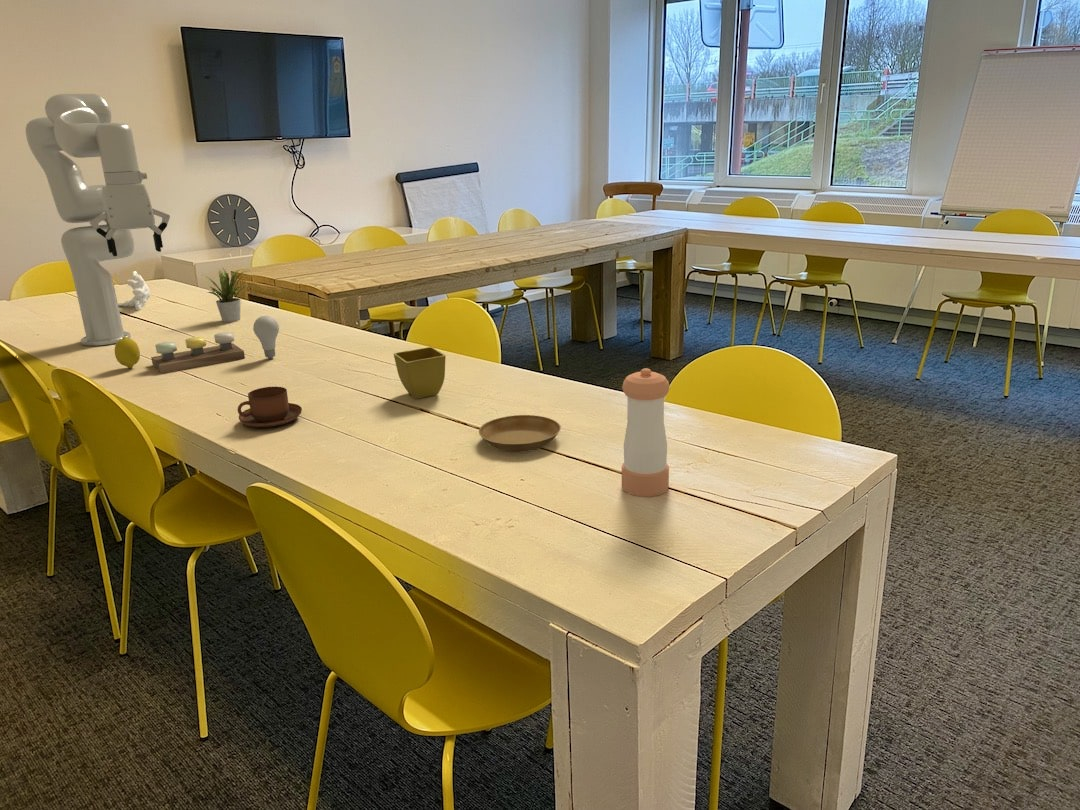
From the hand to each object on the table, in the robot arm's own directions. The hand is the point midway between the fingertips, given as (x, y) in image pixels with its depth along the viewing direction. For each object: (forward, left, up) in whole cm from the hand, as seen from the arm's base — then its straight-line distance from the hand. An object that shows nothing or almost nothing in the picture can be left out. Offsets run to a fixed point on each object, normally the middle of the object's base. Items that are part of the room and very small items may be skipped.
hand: (137, 253), depth 197 cm
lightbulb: (+14, +24, -28) cm, 39 cm away
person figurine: (-83, +11, -28) cm, 89 cm away
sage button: (+4, +2, -26) cm, 27 cm away
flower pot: (+66, +40, -28) cm, 82 cm away
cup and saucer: (+61, +9, -28) cm, 68 cm away
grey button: (+4, +16, -26) cm, 31 cm away
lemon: (-2, -6, -28) cm, 29 cm away
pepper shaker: (+131, +45, -28) cm, 141 cm away
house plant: (-38, +30, -28) cm, 56 cm away
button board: (+4, +9, -28) cm, 29 cm away
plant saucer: (+102, +41, -28) cm, 113 cm away
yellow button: (+4, +9, -26) cm, 28 cm away
